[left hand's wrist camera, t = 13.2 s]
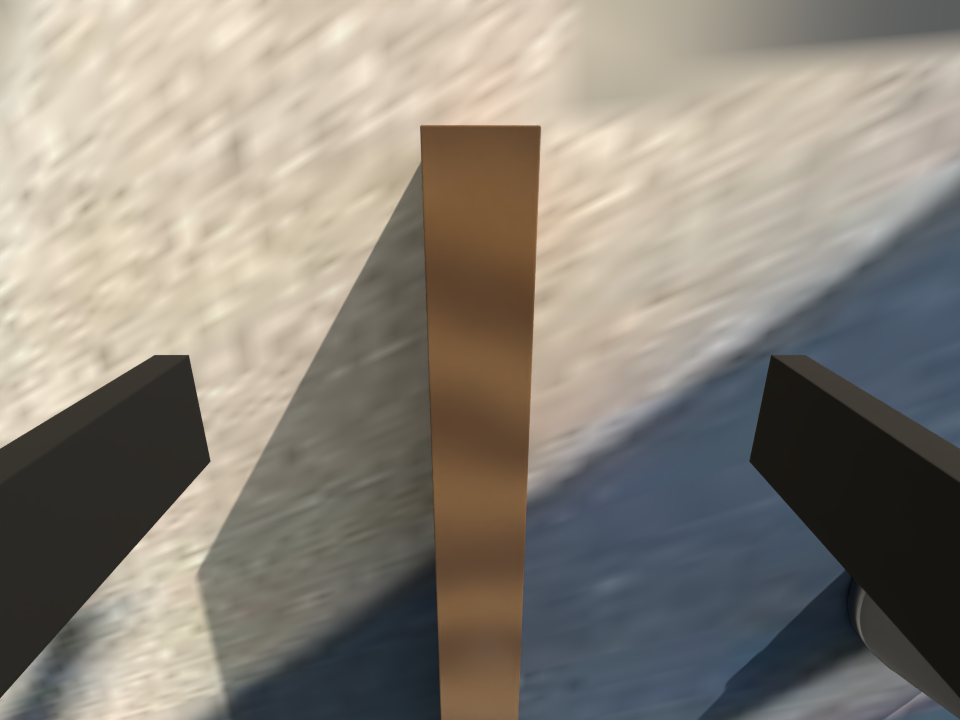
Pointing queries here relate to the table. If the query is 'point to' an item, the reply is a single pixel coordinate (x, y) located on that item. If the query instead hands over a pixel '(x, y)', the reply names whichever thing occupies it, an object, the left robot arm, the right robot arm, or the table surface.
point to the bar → (480, 400)
